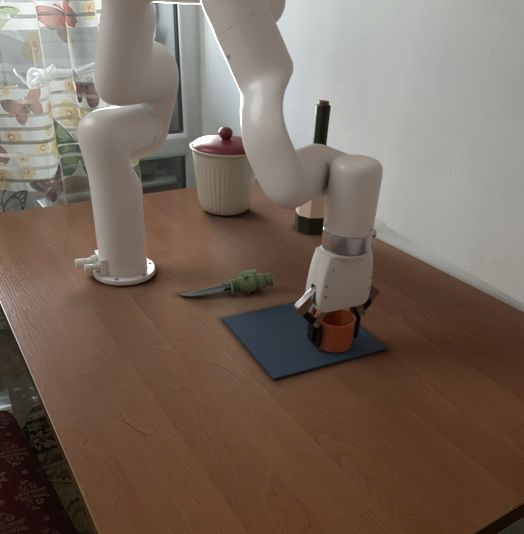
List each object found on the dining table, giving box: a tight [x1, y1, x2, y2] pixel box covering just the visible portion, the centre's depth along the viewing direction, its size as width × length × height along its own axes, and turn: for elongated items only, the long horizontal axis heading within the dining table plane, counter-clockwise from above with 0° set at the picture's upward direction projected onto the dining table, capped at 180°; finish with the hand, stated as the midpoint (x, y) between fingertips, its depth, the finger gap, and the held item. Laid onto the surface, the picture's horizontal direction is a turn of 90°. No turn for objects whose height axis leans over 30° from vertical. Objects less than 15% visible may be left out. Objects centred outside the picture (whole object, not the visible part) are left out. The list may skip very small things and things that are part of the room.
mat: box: [221, 301, 387, 381], centre depth 97 cm, size 22×20×1 cm
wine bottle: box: [293, 99, 332, 235], centre depth 131 cm, size 8×8×30 cm
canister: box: [189, 126, 256, 216], centre depth 142 cm, size 18×18×21 cm
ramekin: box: [315, 308, 356, 353], centre depth 92 cm, size 7×7×5 cm
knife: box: [179, 268, 274, 298], centre depth 107 cm, size 4×18×5 cm
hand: (332, 337), depth 93 cm, fingers closed on ramekin, 6 cm apart
